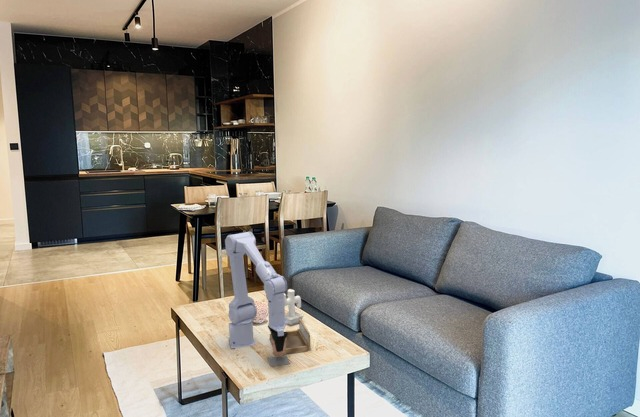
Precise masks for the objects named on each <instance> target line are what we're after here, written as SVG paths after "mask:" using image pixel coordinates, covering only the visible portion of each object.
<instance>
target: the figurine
mask: <svg viewBox="0 0 640 417" xmlns="http://www.w3.org/2000/svg"><path fill="white" fill-rule="evenodd" d="M295 304H296V305H295ZM284 305H285V307H287V306H288V312H287V313H285V321H288V322H289V324H288V325H287V326H294V325H299V318H301V320H302V321H303V318H304V314H301V313H299V312H296V308H298V309H301V308H302V298H301V296H300V295H295V290H294V289H292V288H289V289H287V294H286V292H284Z"/></svg>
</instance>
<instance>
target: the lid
mask: <svg viewBox="0 0 640 417" xmlns="http://www.w3.org/2000/svg"><path fill="white" fill-rule="evenodd" d="M298 326H299V328H298V329H299V330H300V331H301V333H302V335H303V336H304V338H305V340H306V342H307V343H308V351H307V352H309V351H310V346H311V335H310V334H311V333H310V331H309V329H308V328H307V326H306V325H305V322H304V321H303V319H302V320H301V318H299V324H298Z"/></svg>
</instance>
